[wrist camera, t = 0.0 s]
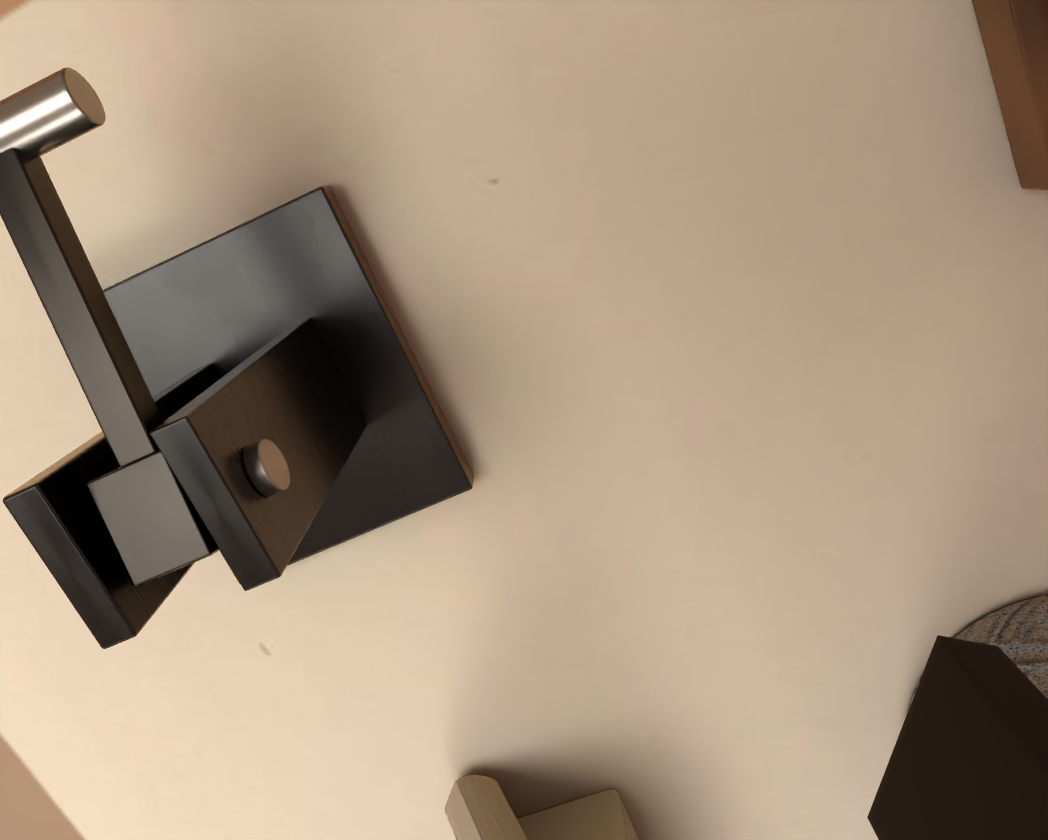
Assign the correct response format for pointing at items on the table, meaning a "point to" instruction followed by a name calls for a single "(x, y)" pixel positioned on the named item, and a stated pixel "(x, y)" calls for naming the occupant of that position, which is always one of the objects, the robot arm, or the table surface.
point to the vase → (1017, 637)
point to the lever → (93, 332)
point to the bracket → (256, 412)
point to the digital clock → (533, 816)
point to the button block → (1020, 79)
